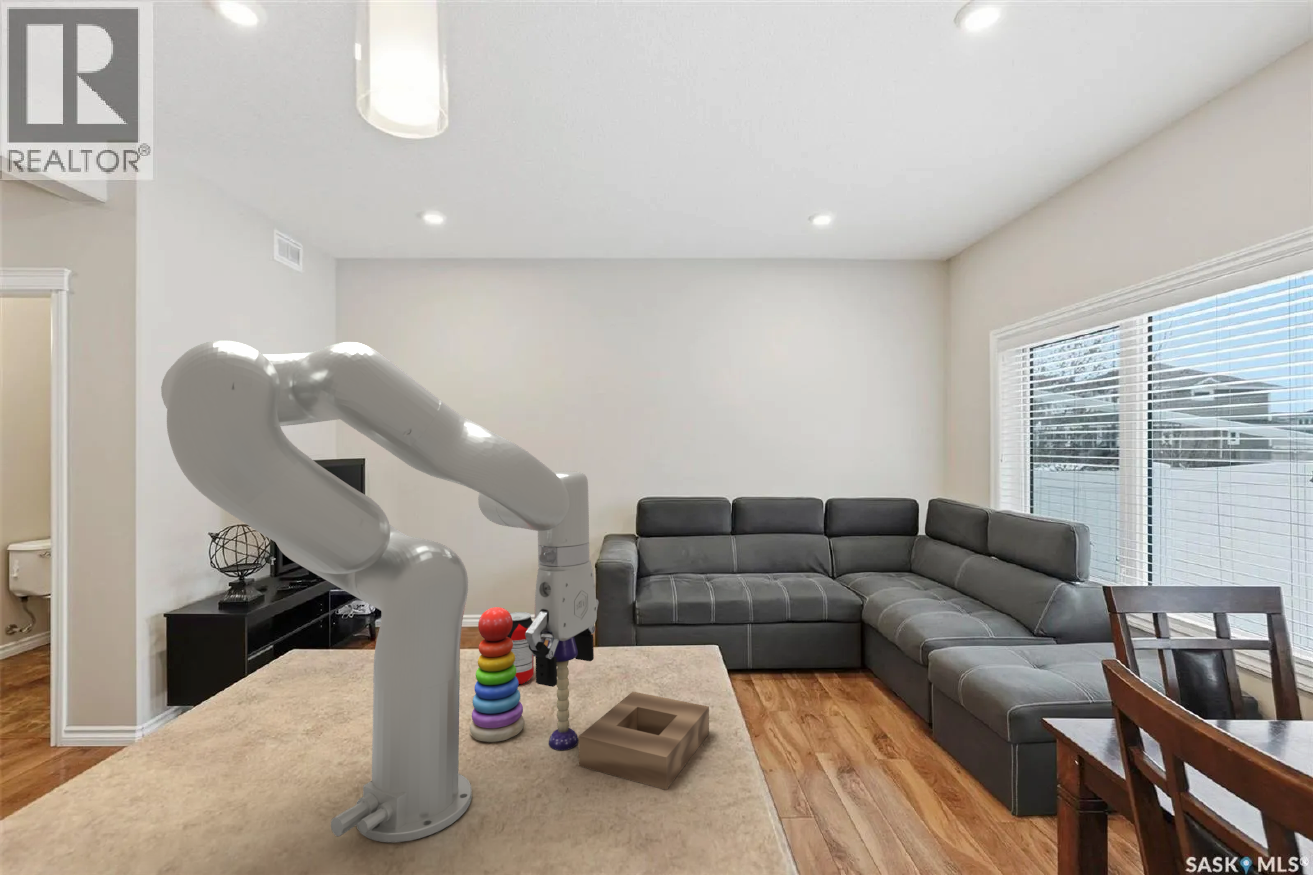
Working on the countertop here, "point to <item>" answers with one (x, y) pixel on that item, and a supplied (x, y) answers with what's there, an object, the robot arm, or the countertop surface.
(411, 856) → the countertop surface
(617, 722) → the brown flat frame block
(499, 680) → the stacking toy
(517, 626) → the beverage can
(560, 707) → the toy lamp
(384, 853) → the countertop surface
